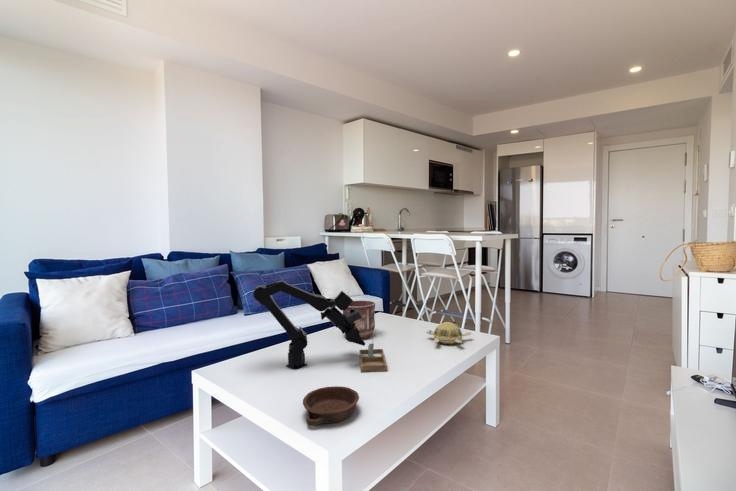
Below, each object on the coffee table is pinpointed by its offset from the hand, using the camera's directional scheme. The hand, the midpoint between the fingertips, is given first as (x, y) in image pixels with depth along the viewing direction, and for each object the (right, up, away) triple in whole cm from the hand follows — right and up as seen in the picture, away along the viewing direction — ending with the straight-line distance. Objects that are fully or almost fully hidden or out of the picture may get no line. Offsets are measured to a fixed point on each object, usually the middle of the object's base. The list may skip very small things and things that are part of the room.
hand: (362, 341), depth 162 cm
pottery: (-2, -7, +35) cm, 36 cm away
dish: (-9, -11, -46) cm, 48 cm away
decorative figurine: (+41, -6, +23) cm, 47 cm away
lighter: (+4, -7, 0) cm, 8 cm away
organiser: (+4, -8, -4) cm, 10 cm away
